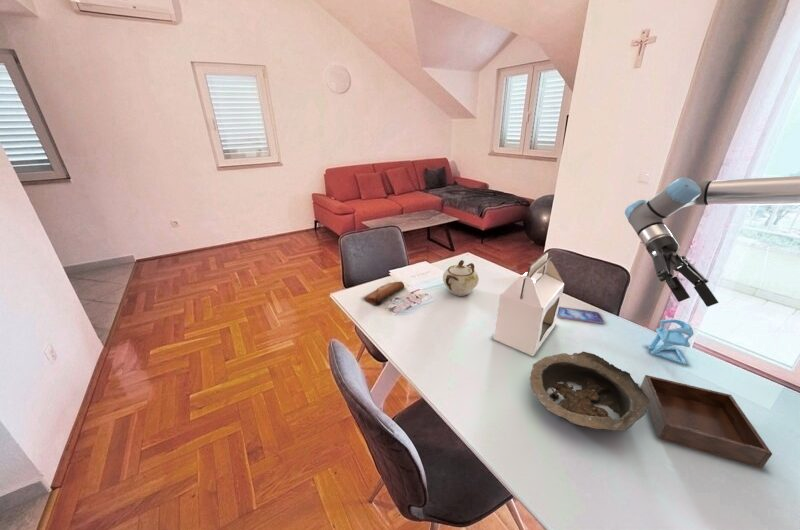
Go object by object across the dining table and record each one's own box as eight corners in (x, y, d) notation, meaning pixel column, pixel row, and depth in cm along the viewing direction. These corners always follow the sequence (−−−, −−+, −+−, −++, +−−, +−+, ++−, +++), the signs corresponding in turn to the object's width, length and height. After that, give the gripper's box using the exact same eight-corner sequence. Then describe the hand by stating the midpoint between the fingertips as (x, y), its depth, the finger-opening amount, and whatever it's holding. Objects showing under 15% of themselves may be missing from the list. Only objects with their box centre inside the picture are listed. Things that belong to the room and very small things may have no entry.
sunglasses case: (389, 283, 142) (395, 273, 138) (400, 294, 140) (406, 284, 136) (362, 298, 129) (367, 289, 125) (373, 311, 127) (379, 301, 123)
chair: (645, 344, 103) (657, 313, 98) (676, 350, 100) (690, 318, 95) (652, 359, 96) (666, 326, 91) (686, 366, 93) (701, 332, 88)
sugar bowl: (460, 306, 125) (463, 272, 119) (431, 293, 135) (432, 261, 129) (486, 289, 138) (490, 258, 132) (458, 279, 147) (460, 249, 141)
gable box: (532, 357, 97) (549, 276, 86) (492, 340, 105) (503, 264, 93) (554, 326, 112) (571, 253, 101) (518, 313, 120) (530, 244, 109)
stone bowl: (656, 416, 77) (668, 389, 72) (600, 477, 65) (610, 449, 61) (562, 358, 96) (567, 334, 91) (506, 397, 84) (509, 371, 80)
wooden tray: (722, 409, 79) (731, 394, 77) (761, 470, 65) (772, 454, 63) (639, 388, 85) (645, 374, 83) (658, 439, 71) (665, 424, 69)
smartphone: (555, 306, 123) (598, 312, 119) (555, 308, 123) (597, 314, 119) (558, 316, 116) (604, 322, 112) (558, 318, 117) (603, 324, 113)
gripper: (670, 254, 106) (709, 311, 95) (621, 242, 98) (657, 303, 86) (695, 241, 101) (739, 300, 89) (644, 227, 92) (686, 290, 80)
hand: (698, 302), depth 87 cm, fingers open, 13 cm apart
